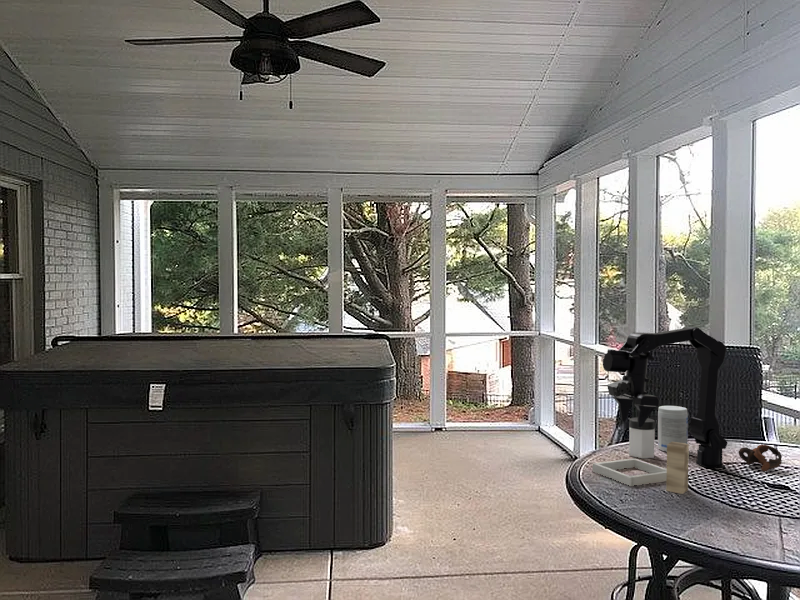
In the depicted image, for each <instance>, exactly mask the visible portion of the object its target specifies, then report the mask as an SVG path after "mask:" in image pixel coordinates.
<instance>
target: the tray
mask: <svg viewBox="0 0 800 600" xmlns="http://www.w3.org/2000/svg"><path fill="white" fill-rule="evenodd" d="M633 467H635V468H634V469H637V468H638V469H637V470H639V471H643V472H645V471H646V473H644V474H637V475H628V474H626V473H623V472H620V471H619V470H625V469H624V468H627V469H633ZM617 469H619V470H617ZM592 472H593V473H595V474H597V473H598V474H597V475H600V474H601V475H600V476H602V475H603V476H602V477H605V476H606V477H605V478H607V477H609V478H608V479H610V478H612V479H611V480H613V479H614V480H613V481H615V480H616V482H618V481H619V482H618V483H620V482H621V484H623V483H624V484H623V485H625V484H627V485H626V486H628V485H629V486H628V487H635V486H634V485H637V486H642V484H644V485H649V483H651V484H655V483H656V484H657V483H662V482H665V483H666V479H667V468H666V467H661V466H658V465H656V464H654V463H653V464H652V463H649V462H646V461H644V460H641V459H639V458H636V457H633V458H627V459H626V458H625V459H618V460H612V461H611V460H610V461H602V462H593V463H592ZM648 472H649V473H648Z"/></svg>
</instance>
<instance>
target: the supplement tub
mask: <svg viewBox="0 0 800 600" xmlns="http://www.w3.org/2000/svg"><path fill="white" fill-rule="evenodd" d="M688 413H689V412H688V408H686V407H684V406H683V407H682V406H679V405H678V406H677V405H661V406H660V405H659V406H658V411H657V448H658V450H660V451H663V452H666V453H667V444H669V443H670V442H679V443H686V444H689V442H688V438H689V436H688V430H689V428H688V427H689V426H688V423H689V422H688V421H689V420H688V419H689V418H688V417H689V415H688Z"/></svg>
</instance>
